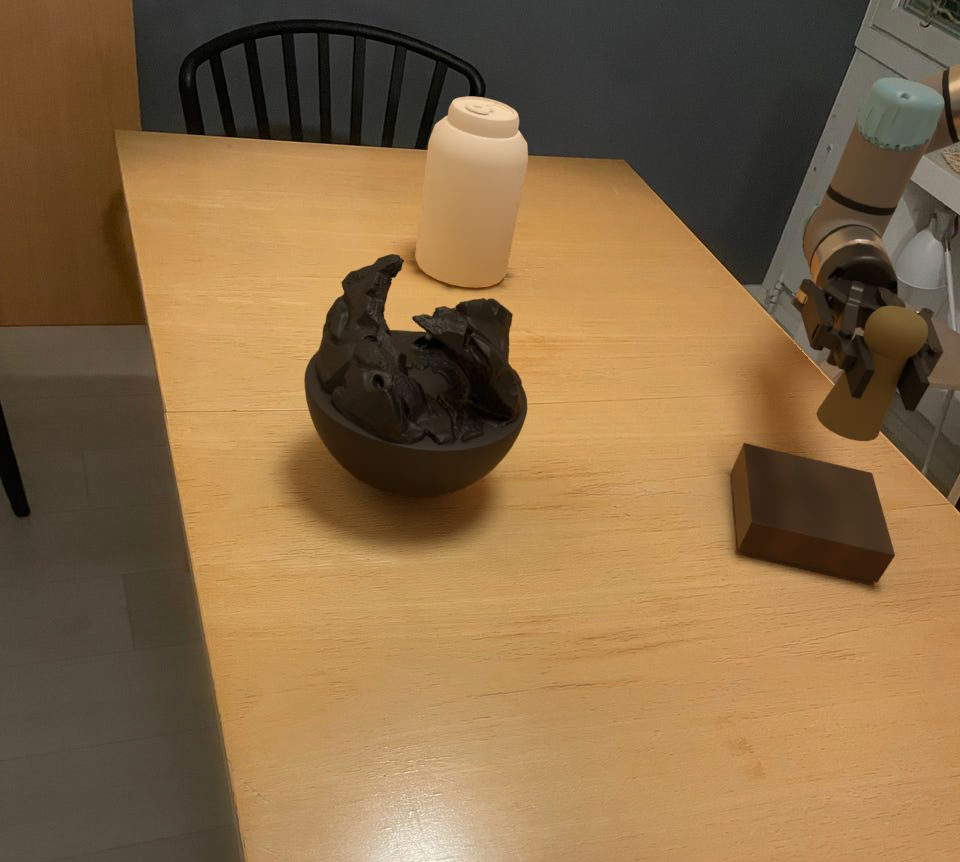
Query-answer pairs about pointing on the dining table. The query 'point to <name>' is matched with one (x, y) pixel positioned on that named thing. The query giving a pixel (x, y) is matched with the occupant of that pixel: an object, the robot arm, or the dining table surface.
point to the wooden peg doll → (875, 374)
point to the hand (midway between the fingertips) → (890, 390)
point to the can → (471, 193)
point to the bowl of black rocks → (414, 389)
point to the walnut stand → (809, 515)
